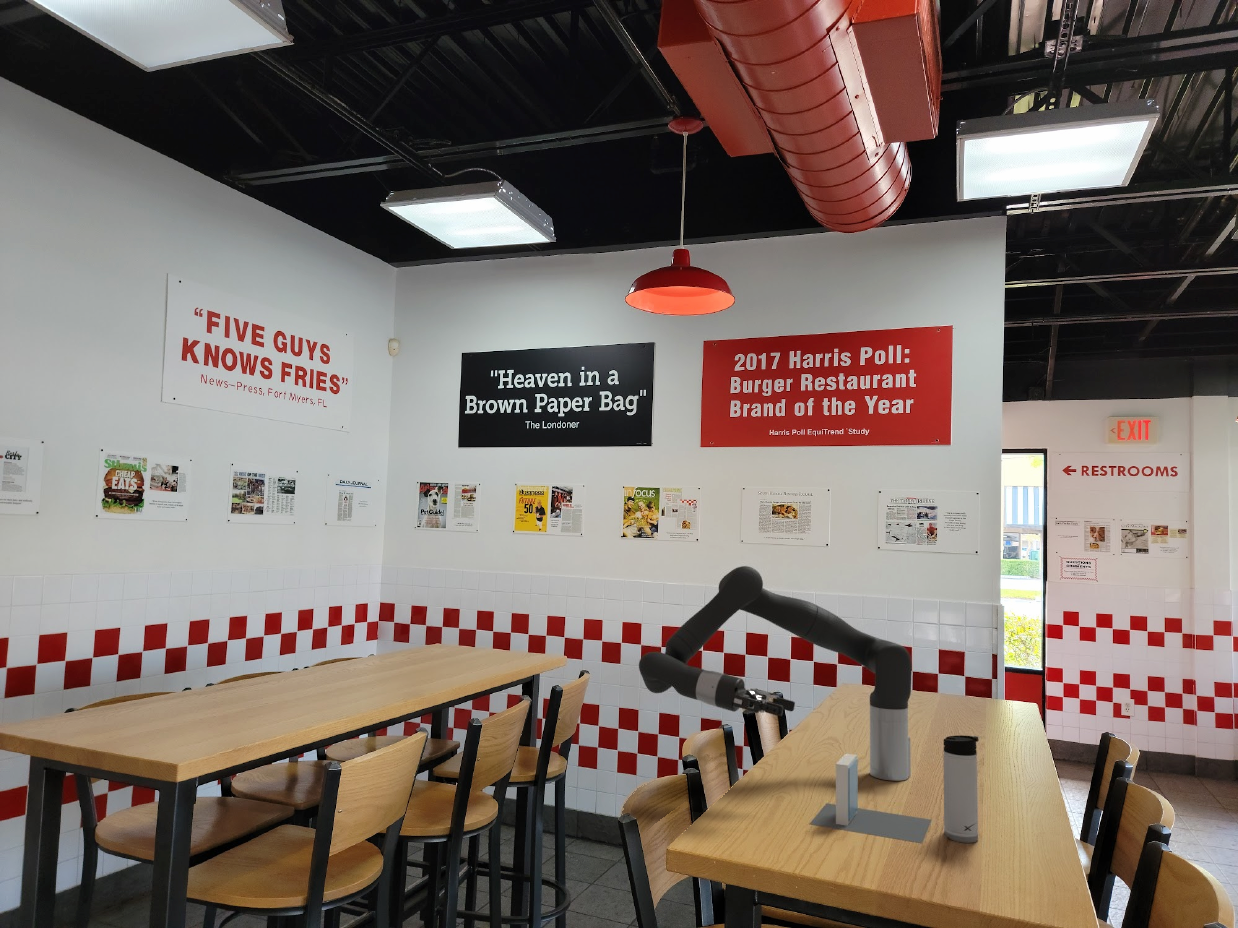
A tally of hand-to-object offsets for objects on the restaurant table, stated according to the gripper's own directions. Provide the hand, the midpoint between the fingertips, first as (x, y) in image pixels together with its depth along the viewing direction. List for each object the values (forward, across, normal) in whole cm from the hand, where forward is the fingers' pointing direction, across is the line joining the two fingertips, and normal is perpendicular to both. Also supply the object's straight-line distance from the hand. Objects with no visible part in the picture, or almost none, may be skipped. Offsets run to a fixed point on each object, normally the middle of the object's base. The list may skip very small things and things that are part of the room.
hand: (788, 708), depth 186 cm
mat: (+21, +1, +19) cm, 28 cm away
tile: (+16, +1, +19) cm, 24 cm away
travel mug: (+38, +3, +16) cm, 41 cm away
